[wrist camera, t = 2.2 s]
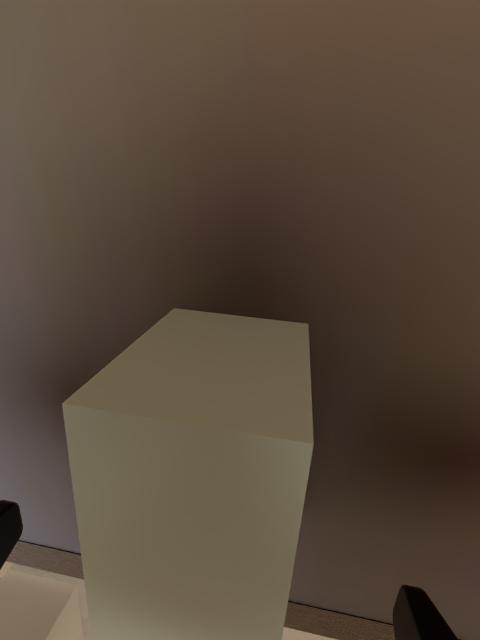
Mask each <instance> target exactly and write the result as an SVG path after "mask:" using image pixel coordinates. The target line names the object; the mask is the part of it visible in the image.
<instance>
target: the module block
mask: <svg viewBox="0 0 480 640" xmlns="http://www.w3.org/2000/svg"><path fill="white" fill-rule="evenodd" d="M62 407H63V415H64V423H65V431H66V439H67V447H68V455H69V463H70V471H71V479H72V487H73V495H74V503H75V511H76V519H77V527H78V535H79V543H80V551H81V559H82V567H83V574H84V582H85V590H86V598H87V606H88V614H89V622H90V630H91V638H92V640H282V635H283V629H284V623H285V617H286V610H287V604H288V598H289V592H290V586H291V580H292V574H293V568H294V562H295V555H296V549H297V543H298V537H299V531H300V525H301V519H302V513H303V506H304V500H305V494H306V488H307V482H308V476H309V470H310V464H311V458H312V451H313V445H314V439H313V417H312V394H311V371H310V348H309V325H308V324H306V323H297V322H288V321H280V320H271V319H263V318H254V317H245V316H237V315H228V314H219V313H211V312H202V311H194V310H185V309H176V308H174V309H172V310H171V311H170V312H169V313H168V314H167V315H165V316H164V317H163V318H162V319H161V320H159V321H158V322H157V323H156V324H155V325H154V326H152V327H151V328H150V329H149V330H148V331H147V332H145V333H144V334H143V335H142V336H141V337H139V338H138V339H137V340H136V341H135V342H134V343H132V344H131V345H130V346H129V347H128V348H127V349H125V350H124V351H123V352H122V353H121V354H120V355H118V356H117V357H116V358H115V359H114V360H112V361H111V362H110V363H109V364H108V365H107V366H105V367H104V368H103V369H102V370H101V371H100V372H98V373H97V374H96V375H95V376H94V377H93V378H91V379H90V380H89V381H88V382H87V383H85V384H84V385H83V386H82V387H81V388H80V389H78V390H77V391H76V392H75V393H74V394H73V395H71V396H70V397H69V398H68V399H67V400H65V401H64V402H63V403H62Z"/></svg>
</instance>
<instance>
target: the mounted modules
mask: <svg viewBox="0 0 480 640" xmlns="http://www.w3.org/2000/svg"><path fill="white" fill-rule="evenodd" d="M0 640H84V633H83V625H82V618H81V611H80V604H79V596H78V589H77V585H73V584H69V583H65V582H60V581H56V580H52V579H48V578H44V577H40V576H35V575H31V574H27V573H23V572H19V571H14V570H10V569H8V570H7V572H6V573H5V574H4V576H3V577H2V578H1V579H0Z"/></svg>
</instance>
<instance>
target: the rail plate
mask: <svg viewBox="0 0 480 640" xmlns="http://www.w3.org/2000/svg"><path fill="white" fill-rule="evenodd" d="M8 569H10V570H14V571H19V572H23V573H27V574H31V575H35V576H40V577H44V578H48V579H52V580H56V581H60V582H65V583H69V584H73V585H77V589H78V596H79V604H80V611H81V618H82V625H83V633H84V640H92V638H91V630H90V622H89V614H88V606H87V598H86V590H85V582H84V574H83V567H82V559H81V555H78V554H74V553H69V552H65V551H61V550H56V549H52V548H47V547H43V546H38V545H34V544H30V543H25V542H21V541H18V542H17V543H16V545H15V547H14V548H13V550H12V552H11V553H10V555H9V557H8V558H7V560H6V562H5V563H4V565H3V567H2V568H1V570H0V579H1V578H2V577H3V576H4V574H5V573H6V572H7V570H8ZM282 640H395V635H394V627H393V625H388V624H384V623H379V622H375V621H371V620H366V619H362V618H357V617H353V616H348V615H344V614H340V613H335V612H331V611H326V610H322V609H317V608H313V607H309V606H304V605H300V604H295V603H291V602H288V604H287V610H286V617H285V623H284V629H283V635H282Z"/></svg>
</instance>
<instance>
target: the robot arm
mask: <svg viewBox="0 0 480 640" xmlns="http://www.w3.org/2000/svg"><path fill="white" fill-rule="evenodd" d="M22 530H23V524H22V519H21V514H20V509H19V505H18V504H17V503H15V502H11V501H6V500H1V501H0V570H1V568H2V567H3V565H4V563H5V562H6V560H7V558H8V557H9V555H10V553H11V552H12V550H13V548H14V547H15V545H16V543H17V542H18V540H19V538H20V536H21V534H22ZM393 627H394V635H395V640H458V639H457V637H456V636H455V634H454V633H453V631H452V630H451V628H450V627H449V626H448V624H447V623H446V621H445V620H444V618H443V617H442V615H441V614H440V613H439V611H438V610H437V608H436V607H435V605H434V604H433V602H432V601H431V599H430V598H429V597H428V595H427V594H426V592H425V591H424V590H422V589H421V588H418V587H413V586H409V585H402V586H401V587H400V590H399V593H398V596H397V599H396V602H395V606H394V609H393Z"/></svg>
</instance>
